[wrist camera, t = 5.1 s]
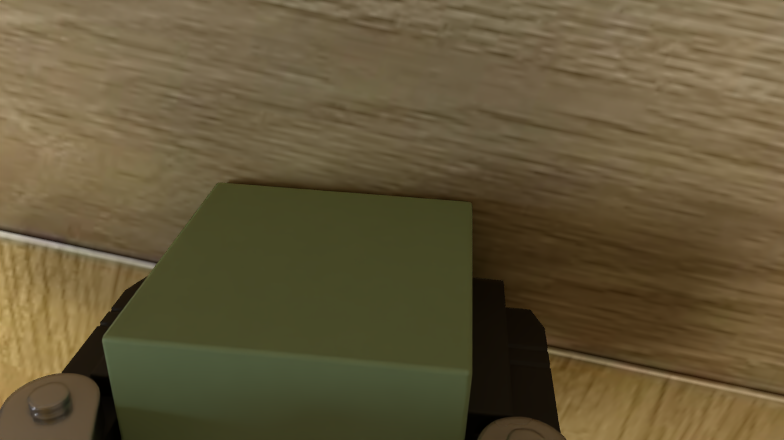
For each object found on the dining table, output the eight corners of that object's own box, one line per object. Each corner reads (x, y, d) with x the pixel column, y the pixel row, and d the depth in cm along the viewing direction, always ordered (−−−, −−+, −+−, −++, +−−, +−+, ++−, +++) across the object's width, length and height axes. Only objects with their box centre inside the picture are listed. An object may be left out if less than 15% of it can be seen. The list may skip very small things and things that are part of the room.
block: (234, 378, 15) (146, 576, 11) (216, 180, 13) (98, 337, 9) (452, 399, 15) (444, 612, 11) (472, 200, 12) (472, 372, 8)
